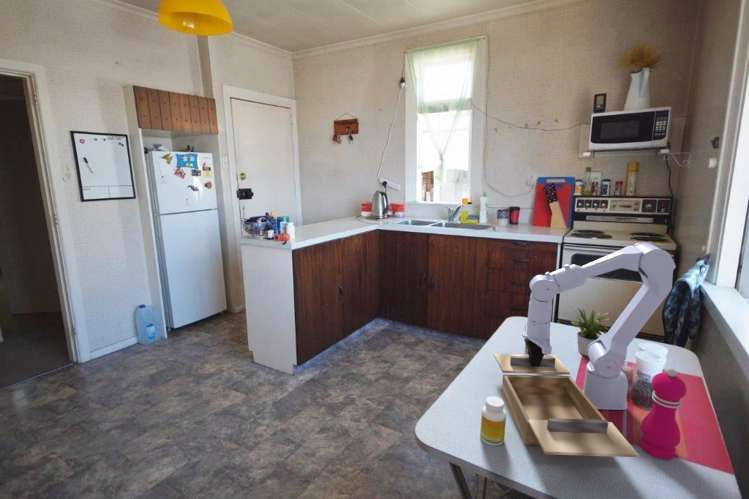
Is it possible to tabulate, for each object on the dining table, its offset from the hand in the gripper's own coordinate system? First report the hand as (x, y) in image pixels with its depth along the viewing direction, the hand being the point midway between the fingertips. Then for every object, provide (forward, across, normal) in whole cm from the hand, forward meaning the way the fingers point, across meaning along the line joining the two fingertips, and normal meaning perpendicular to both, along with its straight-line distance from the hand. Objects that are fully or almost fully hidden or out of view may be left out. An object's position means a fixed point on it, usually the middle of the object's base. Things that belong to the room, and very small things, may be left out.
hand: (534, 365), depth 108 cm
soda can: (+8, -20, +8) cm, 23 cm away
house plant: (+8, -24, +25) cm, 36 cm away
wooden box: (+8, +12, 0) cm, 14 cm away
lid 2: (+2, +27, 0) cm, 27 cm away
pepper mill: (+8, +22, +20) cm, 31 cm away
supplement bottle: (+8, +20, -16) cm, 27 cm away
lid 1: (+1, -3, 0) cm, 4 cm away
